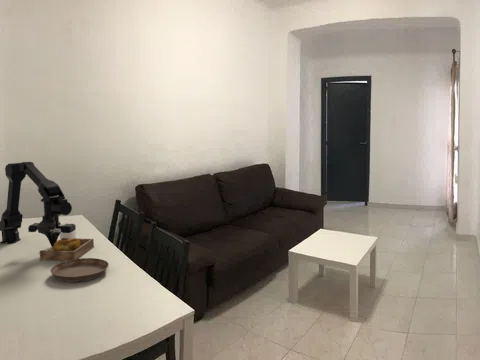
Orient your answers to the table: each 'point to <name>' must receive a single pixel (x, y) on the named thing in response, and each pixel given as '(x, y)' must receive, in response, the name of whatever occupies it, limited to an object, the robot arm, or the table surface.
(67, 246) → the bread roll
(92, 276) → the plant saucer
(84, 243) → the box
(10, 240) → the robot arm
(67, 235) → the white cup
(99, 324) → the table surface
